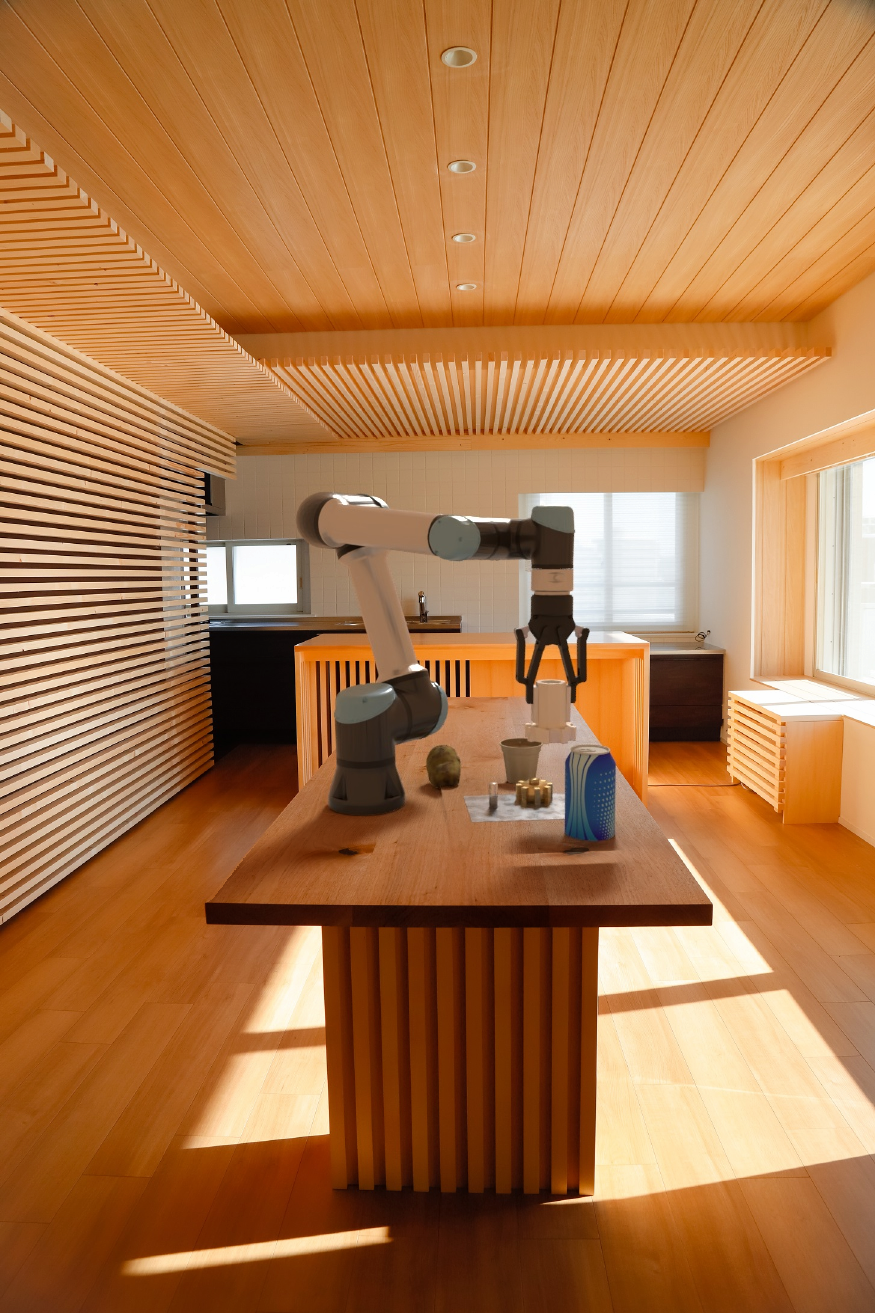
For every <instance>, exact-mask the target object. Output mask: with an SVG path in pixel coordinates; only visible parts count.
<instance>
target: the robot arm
mask: <svg viewBox="0 0 875 1313" xmlns="http://www.w3.org/2000/svg"><path fill="white" fill-rule="evenodd" d="M298 506H299V507H298V509H297V511H296V515H295V524H296V528H297V530H298V533H299V535H300V536H301V538H302V539H303V540H304V541H305V542H306V543H308V544H309V545H310V546H313V547H315V548H319V549H325V550H326V549H329V550H335V552H336V557H337V559H338V563H339V564H340V565H341V566H344V567H346V568H347V569H348V572H349V575H350V578H351V579H350V580H351V582H352V585H353V590H354V593H355V596H356V600H357V603H358V607H359V610H360V614H361V616H362V617H361V618H362V620H363V625H364V627H365V632H366V635H367V638H368V641H369V644H370V649H371V653H372V656H373V659H374V663H375V666H376V669H377V674H378V677H377V679H376V680H375V682H368V683H367V682H366V683H365V684H362V683H360V684H356V685H352V686H349V687H346V688H344V689H342V690H341V691H339V692H338V693H337V694H336V697H335V701H334V711H333V717H334V727H335V728H334V730H335V731H334V734H335V737H334V738H335V755H336V756H335V758H336V761H335V762H336V767H335V771H334V774H333V779H332V781H331V786H330V788H329V792H328V797H327V798H328V808H329V809H330V810H332V811H334V812H336V813H339V814H343V815H348V816H349V815H350V816H351V815H352V816H373V815H375V816H377V815H382V814H387V813H391V812H394V811H397V810H399V809H402V808H403V807H404V806H405V804H406V792H405V788H404V785H403V782H402V779H401V776H400V774H399V770H398V768H397V764H396V762H397V760H396V746H397V745H402V744H405V743H409V742H413V741H417V740H418V741H419V740H422V739H426V738H428V737H429V736H432V735H434V734H436V733H437V732H438V731H440V730H441V728H443V726H444V725H445V721H446V720H447V718H448V713H449V700H448V699H449V698H448V695H447V694H446V692H445V690H444V689H443V687H442V686H441V685H439V684H438V683H437V682H436V681H434V680H431V676H430V675H429V671H428V669H427V668H425V667H424V666H422V665H420V664H419V662H418V659H417V655H416V652H415V648H414V645H413V643H412V642H413V641H412V638H411V634H410V632H409V628H408V625H407V622H406V618H405V614H404V611H403V608H402V604H401V601H400V597H399V594H398V591H397V587H396V584H395V580H394V577H393V574H392V570H391V567H390V564H389V560H388V557H389V555H390V552H391V551H397V552H402V553H403V552H404V553H411V554H412V553H413V554H418V555H425V556H426V555H427V556H432V557H439V558H440V559H442V560H446V561H450V562H452V561H453V562H464V561H498V562H499V561H512V560H513V561H516V560H520V561H521V560H526V561H529V560H530V565H531V567H530V569H531V570H530V575H531V576H530V591H532V592H533V594H531V596H530V619H529V621H528V623H527V625H524V626H520V627H515V628H514V629H513V633H514V637H515V640H516V646H515V647H516V649H515V650H516V652H515V655H516V656H515V681H516V682H517V683H519V684H521V685H524V686H525V702H526V704H527V705H530V721H531V722H532V723H538V687H537V686H536V679H537V675H538V672H539V667H540V665H541V662H542V657H543V653H544V651H545V650H546V647H547V646H551V645H554V646H557V647H558V650H559V654H560V659H561V661H562V662H561V663H562V666H563V670H564V674H565V678H566V682H567V687H566V723H567V722H571V712H572V711H571V710H572V709H571V707H572V706H571V704H576V702H577V686H578V685H580V684H582V683H586V682H587V680H588V664H587V662H588V661H587V660H588V654H587V652H588V651H587V650H588V648H587V642H588V638H589V635H590V630H591V629H590V628H588V627H586V626H580V625H577V624H576V622H575V620H574V596H573V594H571V592H573V591H574V557H575V556H574V554H575V553H574V552H575V551H574V550H575V549H574V548H575V533H576V529H575V511H574V510H573V508H572V507H571V506H569V505H566V504H565V505H564V504H547V505H546V504H545V505H544V504H543V505H535V506H533V507H532V510H531V514H530V517H526V518H499V517H477V516H466V515H458V514H446V513H445V514H443V513H435V512H424V511H416V510H406V509H396V508H390V507H389V505H388V504H387V503H386V502H385V501H383V499H381V498H379V497H377V496H373V495H369V494H366V493H344V492H343V493H342V492H333V491H318V492H315V493H312V494H310V495H308V496H307V497H305V499H303V500H302V502H301V503H300V505H298ZM529 632H530V633H531V635H532V636H533V637H534V638H535V642H534V647H533V651H532V652H533V653H532V656H531V659H530V661H529V662H530V663H529V666H528V670H527V674H526V676H525V673H526V672H525V671H526V667H525V666H526V639H528V635H529ZM573 632H574V635H575V638H576V674H575V669H574V666H573V661H572V656H571V654H570V651H569V650H570V649H569V644H568V639H569V637H571V635H572V634H573Z"/></svg>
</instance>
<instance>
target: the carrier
mask: <svg viewBox="0 0 875 1313" xmlns="http://www.w3.org/2000/svg"><path fill="white" fill-rule="evenodd" d="M498 784H499V783H498V782H489V783H488V794H486V795H463V797H462V798H463V799H464V802H465V805H466V809H467V811H468V814H469V817H470V820H471V822H472V823H487V822H488V823H489V822H493V823H494V822H514V821H515V822H517V821H518V822H519V821H522V822H523V821H545V820H546V821H547V820H548V821H549V820H565V792H553V788H554V786H553V783H552V782H547V780H545V779H540V778H538V777H536V778H529V779H528V781H518V783H515V793H514V794H498V793H499V791H498V790H499V789H498V787H499V785H498Z"/></svg>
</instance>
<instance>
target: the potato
mask: <svg viewBox="0 0 875 1313" xmlns="http://www.w3.org/2000/svg"><path fill="white" fill-rule="evenodd" d="M461 762H462V761H461V758H460V757H459V756H458V754H457V752H456V750H455V748H453V747H452V746H449V745H448V744H446V745H445V744H440V745H436V746H434V747H432V748H431V749H430V751H429V752H428V754H427V756H426V761H425V765H426V766H425V767H426V771H427V778H428V781H429V782H430V784H431V785H432V787H433V788H435V789H437V790H442V787H443V788H453V787H456V786H458V785H459V784H460V779H461V771H462V769H461V766H462V764H461Z"/></svg>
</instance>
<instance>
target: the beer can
mask: <svg viewBox="0 0 875 1313" xmlns="http://www.w3.org/2000/svg"><path fill="white" fill-rule="evenodd" d="M616 770H617V764H616V760H615V758H614V757H613V755H612V753H611V748H609V747H608V746H605V745H601V744H588V743H587V744H577V745H574V746H571V747H570V753H569V754H568V755H567V757H566V758H565V761H564V793H565V819H564V834H565V835H566V836H567V837H570V838H571V839H576V840H579V841H585V842H587V841H589V842H590V841H591V842H598V841H599V842H600V841H607V840H610V839H612V838H613V837H615V835H616V783H617V782H616V780H617V779H616V778H617V776H616V775H617V774H616V773H617V771H616Z"/></svg>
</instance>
